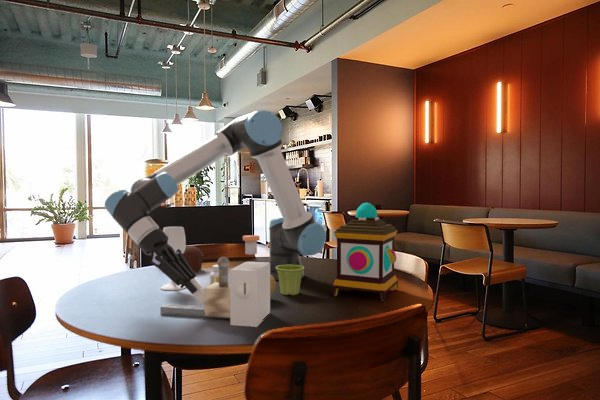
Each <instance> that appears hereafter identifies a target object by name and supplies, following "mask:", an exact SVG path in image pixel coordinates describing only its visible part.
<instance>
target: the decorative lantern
mask: <svg viewBox="0 0 600 400" xmlns="http://www.w3.org/2000/svg"><path fill="white" fill-rule="evenodd" d="M397 233H398V229H397V228H396V227H395V226H393V225H392V224H391V223H387V222H386V221H383V219H381V217H380V216H378V212H377V209H376V207H375V206H374V205H373V204H371V203H370V202H363V203H361V204H360V205H359V206H358V208H357V209H356V211H355V216H354V217H352V219H350V220H349V222H347V223H346V224H343V225H340V226H339V227H338V228H336V229H335V231H333V234H334V237H335V239H336V278H335V280H334V282H333V285H332V295H333V296H334V297H336V296H338V292H339V289H345V290H354V291H362V292H368V293H369V292H371V293H378V294H379V295H380V299H381V301H382V300H385V301H386V299H387V293H388V292H389V291H390V289H393V288H397V289H398V288H399V280H398V278H397V276H396V274H395V263H396V261H397V254H396V252H395V239H396V235H397Z"/></svg>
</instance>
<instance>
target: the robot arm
mask: <svg viewBox="0 0 600 400" xmlns="http://www.w3.org/2000/svg"><path fill="white" fill-rule="evenodd" d="M282 133H283V125H282V122H281V120H280V119H279V117H278V116H277V115H276V114H275V113H273V112H271V111H269V110H265V109H260V110H254V111H251V112H249V113H246V114H243V115H240V116H238V117H236V118H235V119H233V120H231V121H230V122H229V123H228V124H227V125H224V126H223V127H222V128H221V129H219V130H217V131H216V132H215V133H214V136H213V137H211V138H209V139H207V140H206V141H205V142H203V143H201V144H200V145H197V146H196V147H194V148H192V149H191V150H189V151H188V152H185V153H184V154H182V155H181V156H179V157H177V158H176V159H174V160H172V161H170V162H169V163H167V164H166V165H164V166H162V167H160V168H159V169H157V170H155V171H154V172H152V173H150V174H149V175H147V176H146V177H143V178H141V179H138V180H136V181H135V182H133V184H132V185H131V187H130V192H129V191H128V190H126V189H122V188H121V189H119V190H115V191H114V192H112V193H111V194H110V195H108V197H107V198H106V200H105V202H104V208H105V210H106V211H107V212H108V213H109V214H110V216H111V217H112V219H113V220H114V221H116V223H117V224H118V225H119V226H120V227H121V229H123V231H124V232H125V233H126V234H127V235H128V236H129V237H130V238H131V240H132V241H133V242H134V243H135V244H136V245H138V248H139V249H140V250H141V251H142V253H144V255H146V256H151V257H152V260H150V264H151V265H152V266H155V267H156V268H158V269H159V270H160V271H161V272H162V273H163V274H165V276H166V277H168V278H169V279H170V280H171V282H172V281H173V282H174V283H176V284H177V285H178V286H180V285H181V286H180V287H181V288H183V287H184V286H185V287H186V288H185V289H187V290H188V291H189V292H190V294H191V295H192V296H193V297H194V298H195V299H196V301H197V302H198V303H199V304H200V305H201V304H204V288H203V287H202V286H201V284H200V283H199V282H198V281H197V280H196V279H195V278H196V277H197V274H196V273H197V272H194V271H193V269H192V268H191V266H190V265H189V263H188V262H187V261H186V259H185V258H184V256H183V255H182V252H181V250H180V249H178V250H177V251H175V250H173V248H172V247H171V246H170V245H168V244H167V241H168V236H167V235H166V234H165V233H164V232H163V229H162V228H160V226H159V225H158V224H157V223H156V222H155V221H154V220H153V218H152V217H151V216H150V215H149V214H150V213H151V212H152V211H154V210H155V209H156V208H158V207H159V206H161V205H162V204H163V203H165V202H167V201H168V200H170V199H172V198H173V197H174V196H175V195H176V194H178V192H179V189H180V188H179V185H180V184H181V183H184V182H186V181H187V180H189V179H190V178H192V177H193V176H194V175H197V174H198V173H199V172H201V171H203V170H204V169H206V168H208V167H209V166H211V165H213V164H215V163H216V162H218V161H219V160H221V159H223V157H225V156H227V157H229V156H232V155H234V154H235V153H238V152H240V151H243V150H247V151H248V153H249V154H250V157H251V158H253V159H255V160H256V161H257V162H258V165H259V167H260V169H261V171H262V173H263V176H264V179H265V180H266V182H267V185H268V187H269V189H270V192H271V195H272V196H273V199H274V201H275V203H276V205H277V208H278V209H279V210H278V211H280V214H281V217H278V218H277V217H276V218H272V219H270V221H269V228H268V229H269V258H268V261H267V262H268V263H270V275H272V276H273V277H274V279H275V281H279V276H278V273H277V269H276V266H279V265H300V266H303V264H302V262H301V261H302V260H301V258H300V255H301V256H309V257H310V256H315V255H317V254H319V253H320V252H321V251H322V250H323V248H324V247H325V243H326V241H327V233H326V230H325V228H324V226H323V225H321V224H320V223H318V222H316V221H315V218H314V216H313V213H312V212H310V211H307V210H306V208H305V205H304V203H303V201H302V197H301V196H300V193H299V190H298V188H297V187H296V184H295V181H294V179H293V177H292V174H291V172H290V170H289V167H288V164H287V162H286V160H285V157H284V155H283V153H282V149H281V148H282V147H283V144H284V143H283V141H282V139H281V138H282ZM304 270H305V269H303V273H302V276H301V279H302V278H304V276H305V272H304Z"/></svg>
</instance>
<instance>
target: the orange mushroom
mask: <svg viewBox="0 0 600 400" xmlns="http://www.w3.org/2000/svg"><path fill="white" fill-rule="evenodd" d="M242 241H244V242H245V243H244V245H245V247H244V249H245V250H244V251H245V253H244V254H245V255H257V253H258V250H257V249H258V241H260V235H258V234H257V235H254V234H252V235H251V234H250V235H249V234H248V235H246V234H245V235H242Z"/></svg>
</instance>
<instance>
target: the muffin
mask: <svg viewBox="0 0 600 400" xmlns="http://www.w3.org/2000/svg"><path fill="white" fill-rule="evenodd" d="M182 255H183V256H184V258H185V259H186V261H187V262H188V263H189V265H190V266H191V268H192V269H193V271H194V272H195V273H197V272H200V271H202V265H203V264H202V263H203V257H204V255H205V254H204V253H203V251H202V250H201V249H200V248H199V247H196V246H193V245H189V246H186V248H185V251H184V253H183V254H182Z"/></svg>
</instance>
